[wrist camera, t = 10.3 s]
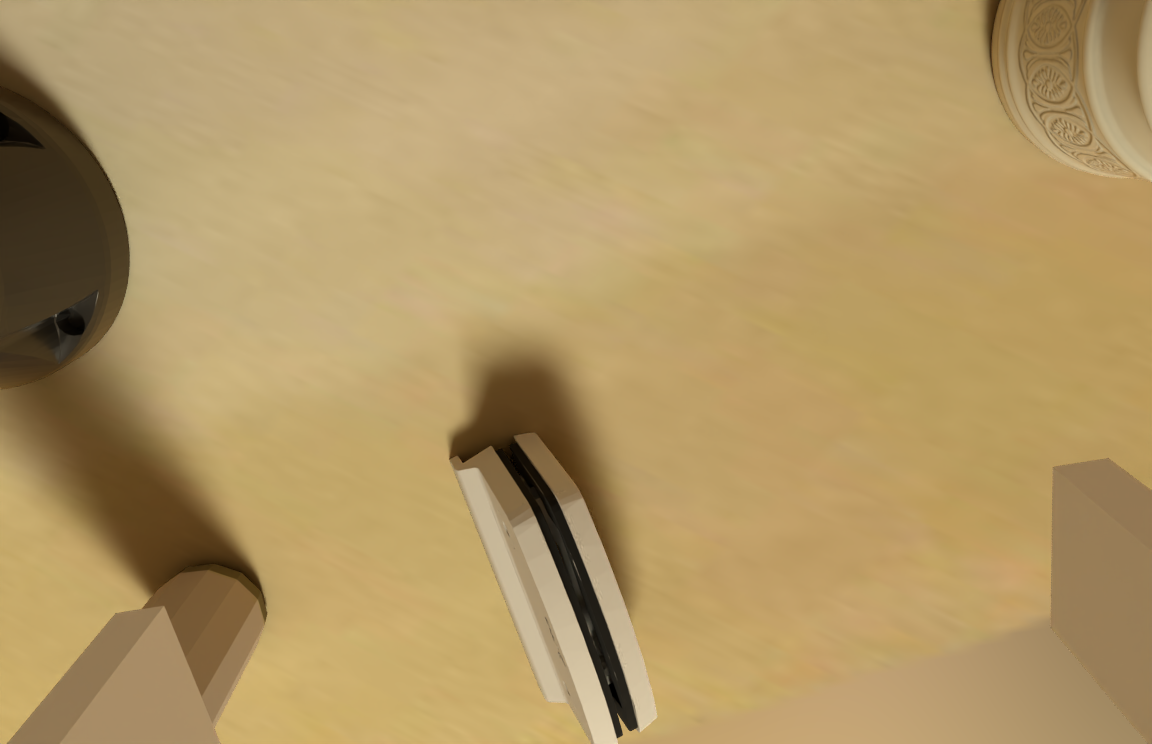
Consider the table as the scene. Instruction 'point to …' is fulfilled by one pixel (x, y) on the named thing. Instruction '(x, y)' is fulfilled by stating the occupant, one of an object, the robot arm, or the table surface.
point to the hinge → (558, 586)
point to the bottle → (214, 627)
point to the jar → (1079, 80)
